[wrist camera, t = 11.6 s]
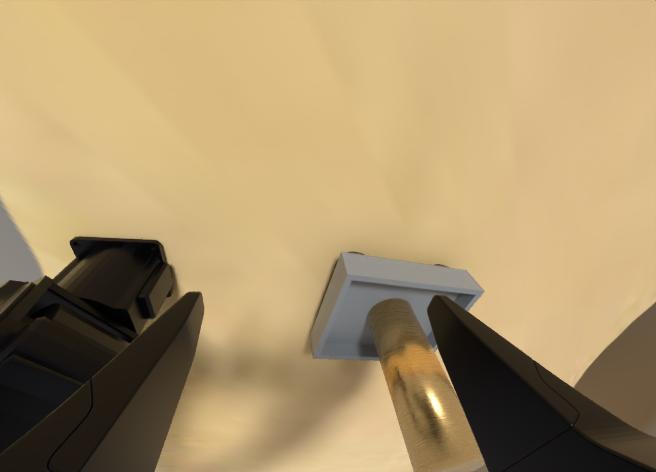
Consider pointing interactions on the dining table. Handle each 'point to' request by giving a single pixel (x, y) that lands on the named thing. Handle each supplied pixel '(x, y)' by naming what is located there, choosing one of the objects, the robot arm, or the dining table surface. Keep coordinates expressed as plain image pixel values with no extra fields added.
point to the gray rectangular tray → (375, 286)
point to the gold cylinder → (421, 393)
